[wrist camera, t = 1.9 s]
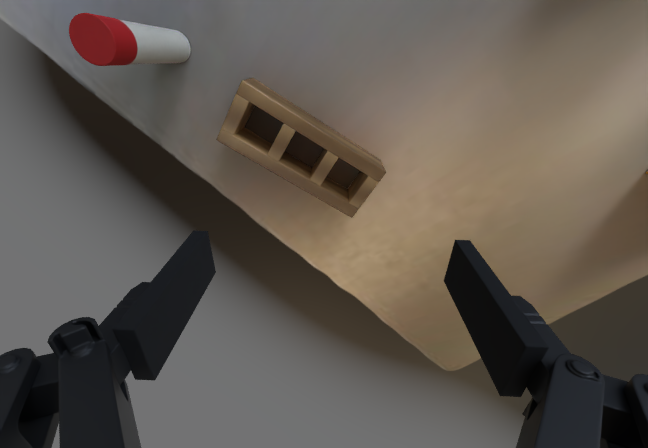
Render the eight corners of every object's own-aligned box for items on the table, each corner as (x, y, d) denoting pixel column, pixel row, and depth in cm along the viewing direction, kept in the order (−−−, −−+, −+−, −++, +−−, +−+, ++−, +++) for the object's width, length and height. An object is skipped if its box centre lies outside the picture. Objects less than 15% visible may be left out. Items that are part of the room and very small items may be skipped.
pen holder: (252, 77, 37) (241, 80, 32) (381, 160, 41) (386, 172, 37) (229, 131, 40) (216, 140, 36) (350, 202, 44) (351, 218, 40)
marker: (166, 22, 34) (72, 2, 22) (195, 41, 35) (120, 31, 23) (157, 52, 36) (65, 48, 24) (185, 69, 37) (110, 74, 24)
